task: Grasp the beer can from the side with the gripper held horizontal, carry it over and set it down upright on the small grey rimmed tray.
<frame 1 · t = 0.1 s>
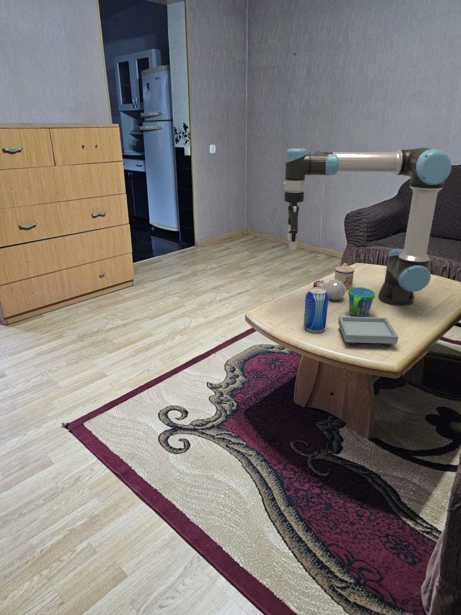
hand: (291, 244, 177), 28 cm above the table, tool pointing down, fingers open, 13 cm apart
snack cup: (358, 314, 182), on the table
potion bottle: (328, 298, 199), on the table
grey rimmed tray: (365, 338, 162), on the table
teacup with lid: (344, 286, 213), on the table
beer can: (314, 329, 169), on the table
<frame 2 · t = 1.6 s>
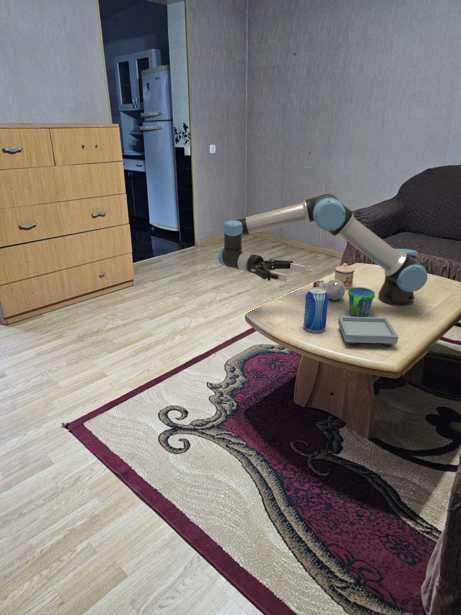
hand: (296, 274, 167), 20 cm above the table, tool horizontal, fingers open, 13 cm apart
nothing on the table moved.
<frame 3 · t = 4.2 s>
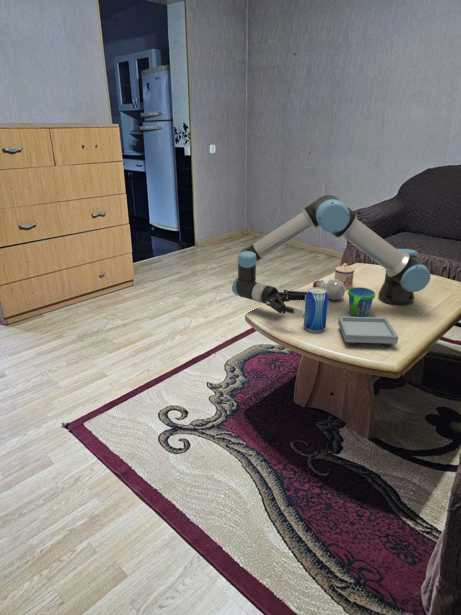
hand: (311, 307, 166), 9 cm above the table, tool horizontal, fingers open, 13 cm apart
nothing on the table moved.
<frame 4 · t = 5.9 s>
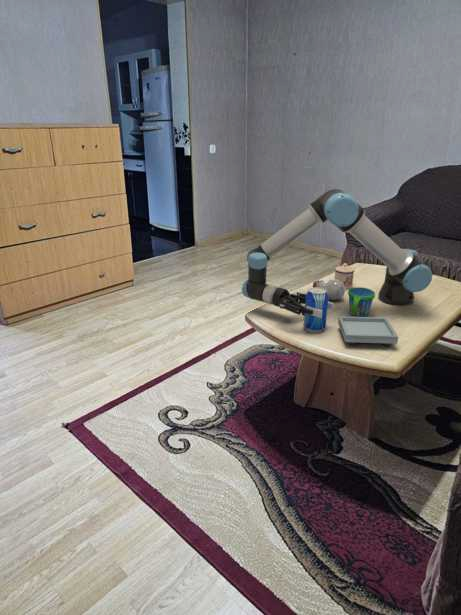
hand: (327, 310, 163), 9 cm above the table, tool horizontal, fingers closed on beer can, 8 cm apart
beer can: (314, 329, 169), on the table, touching gripper
everything else where it was.
when the fingers open (14 cm above the table, at t = 9.6 s): beer can drops 1 cm, resting on grey rimmed tray.
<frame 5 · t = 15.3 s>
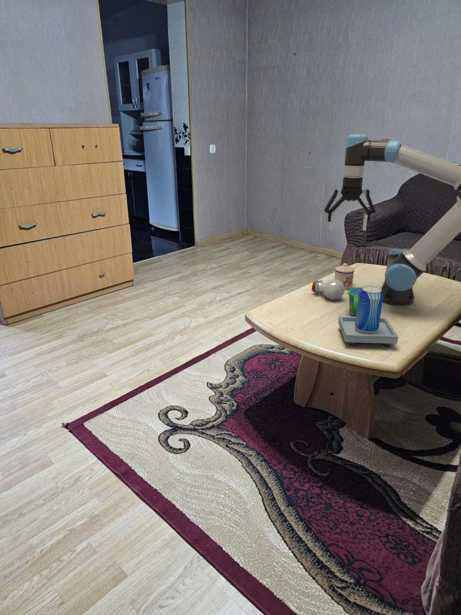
hand: (347, 229, 180), 33 cm above the table, tool pointing down, fingers open, 13 cm apart
beer can: (366, 330, 160), point 3 cm above the table, touching grey rimmed tray
everything else where it was.
at the end: beer can 0.1 cm from the grey rimmed tray (horizontally); beer can touching grey rimmed tray; beer can tilted 0° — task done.
